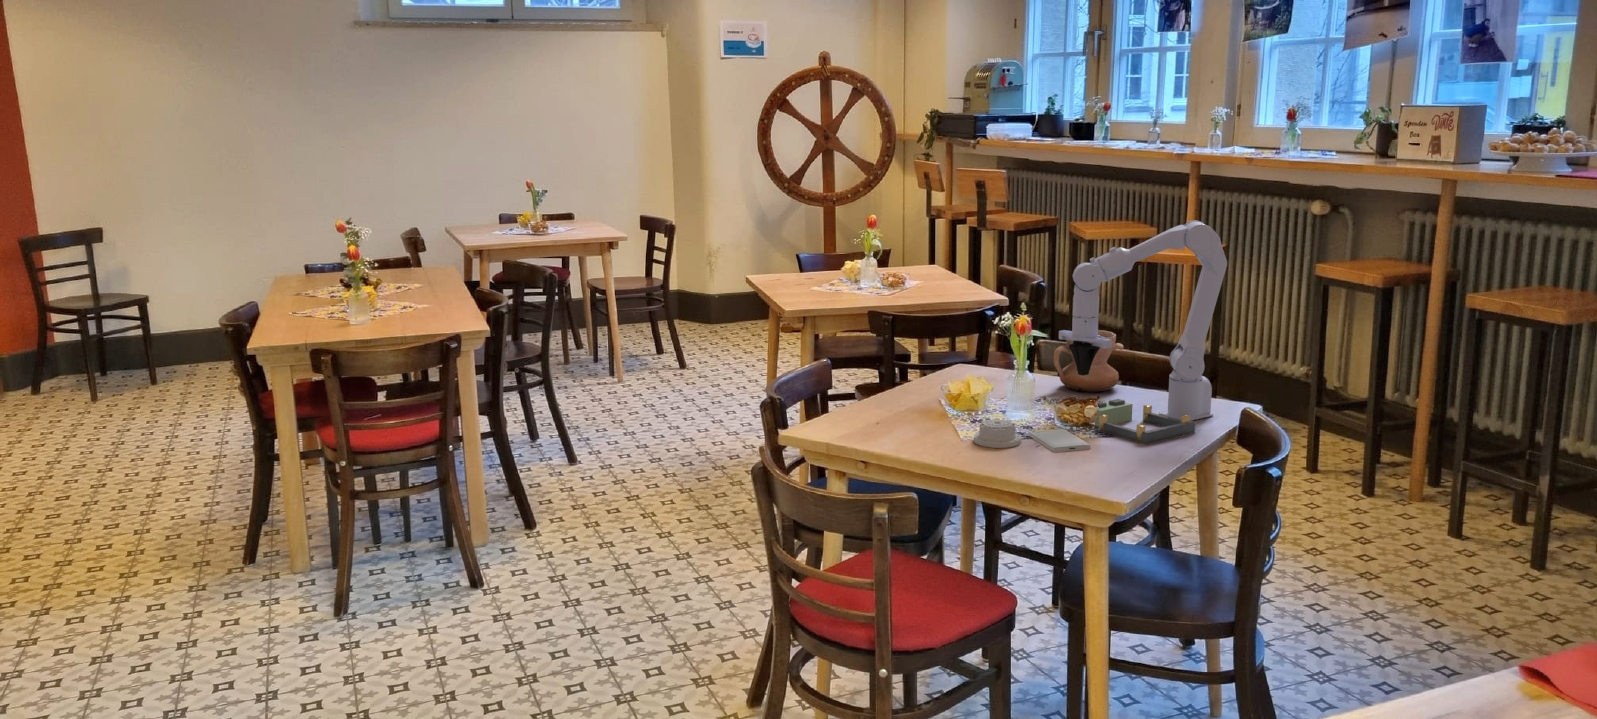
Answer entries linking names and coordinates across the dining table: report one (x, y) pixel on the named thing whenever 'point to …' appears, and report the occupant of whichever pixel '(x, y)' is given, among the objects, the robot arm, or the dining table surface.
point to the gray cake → (997, 434)
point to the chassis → (1169, 430)
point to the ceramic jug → (1099, 371)
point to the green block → (1115, 411)
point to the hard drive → (1059, 440)
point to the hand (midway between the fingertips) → (1083, 374)
